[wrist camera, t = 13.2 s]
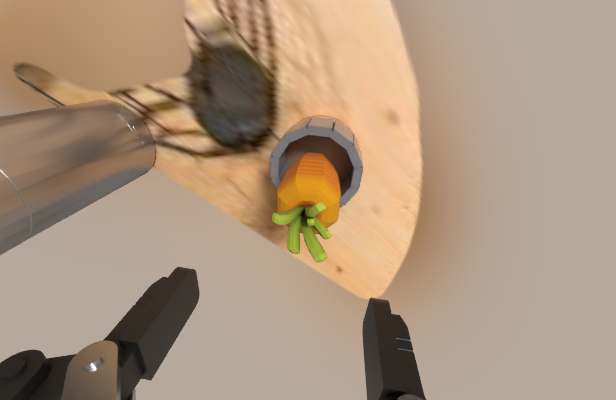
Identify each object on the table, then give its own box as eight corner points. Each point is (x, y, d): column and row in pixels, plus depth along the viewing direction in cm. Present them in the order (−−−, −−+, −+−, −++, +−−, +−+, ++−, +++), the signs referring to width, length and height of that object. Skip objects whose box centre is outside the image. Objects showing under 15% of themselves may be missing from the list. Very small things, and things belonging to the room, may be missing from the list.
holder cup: (302, 200, 32) (294, 222, 27) (268, 135, 28) (253, 149, 24) (370, 175, 29) (374, 196, 25) (342, 101, 26) (340, 109, 21)
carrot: (285, 143, 27) (242, 222, 14) (331, 128, 26) (329, 199, 13) (302, 184, 30) (278, 286, 16) (344, 171, 28) (355, 270, 15)
